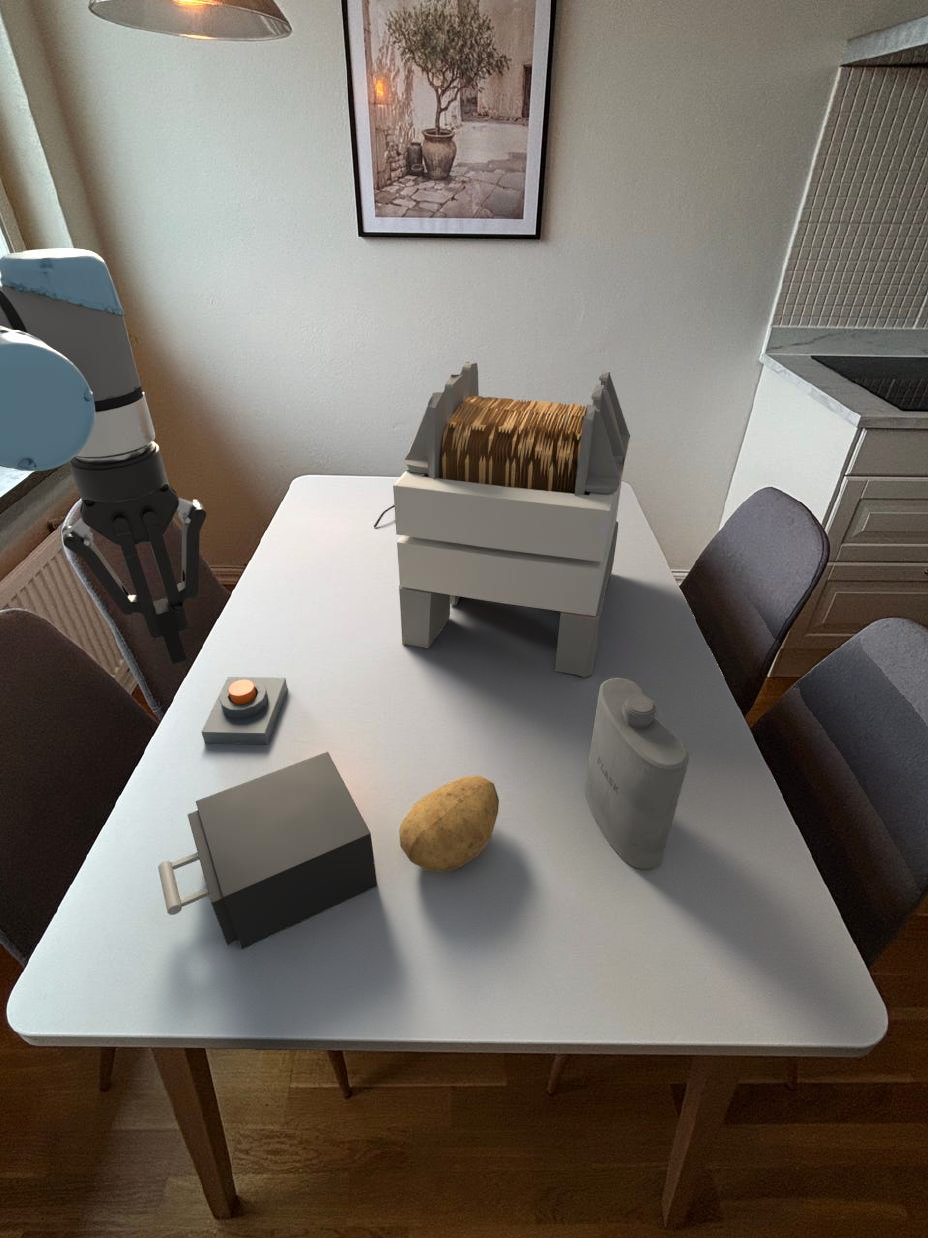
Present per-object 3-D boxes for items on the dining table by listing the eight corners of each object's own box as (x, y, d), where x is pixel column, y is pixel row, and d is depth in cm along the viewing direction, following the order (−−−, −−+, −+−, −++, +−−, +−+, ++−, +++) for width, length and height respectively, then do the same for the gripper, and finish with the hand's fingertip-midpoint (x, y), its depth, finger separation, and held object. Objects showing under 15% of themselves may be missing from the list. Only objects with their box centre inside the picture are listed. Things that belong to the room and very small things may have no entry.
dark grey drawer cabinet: (241, 950, 72) (223, 897, 67) (213, 853, 82) (195, 801, 76) (377, 886, 78) (370, 833, 73) (336, 803, 88) (327, 751, 83)
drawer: (185, 965, 70) (165, 923, 66) (164, 872, 79) (146, 829, 74) (356, 886, 77) (349, 843, 73) (320, 809, 86) (312, 766, 82)
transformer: (454, 550, 142) (451, 346, 118) (612, 572, 135) (643, 359, 111) (397, 646, 115) (380, 407, 92) (591, 680, 108) (626, 429, 84)
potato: (520, 832, 84) (523, 788, 80) (440, 909, 76) (439, 865, 71) (462, 790, 90) (462, 747, 85) (382, 857, 82) (377, 814, 77)
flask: (573, 782, 91) (588, 665, 79) (612, 772, 92) (633, 656, 81) (625, 877, 79) (652, 757, 68) (670, 864, 81) (703, 745, 69)
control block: (267, 744, 97) (262, 724, 94) (204, 743, 97) (198, 722, 95) (287, 688, 107) (283, 668, 104) (230, 687, 107) (225, 667, 104)
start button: (252, 705, 98) (249, 696, 97) (227, 704, 98) (225, 695, 97) (259, 688, 101) (257, 679, 100) (235, 688, 101) (232, 679, 100)
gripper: (180, 422, 66) (229, 621, 79) (28, 446, 61) (109, 654, 74) (196, 447, 60) (246, 656, 74) (30, 476, 55) (117, 694, 69)
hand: (177, 655), depth 74 cm, fingers closed
